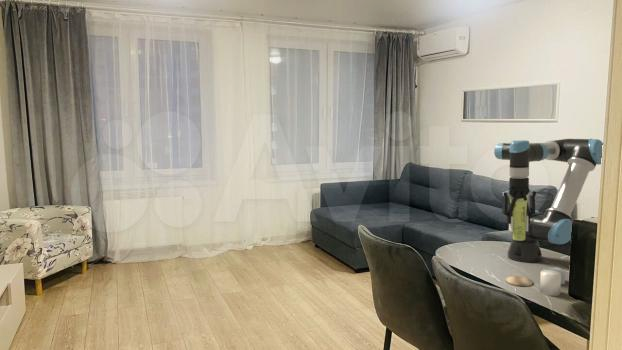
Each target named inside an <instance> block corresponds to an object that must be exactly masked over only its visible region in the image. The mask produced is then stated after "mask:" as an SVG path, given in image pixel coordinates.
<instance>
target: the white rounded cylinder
mask: <svg viewBox="0 0 622 350" xmlns="http://www.w3.org/2000/svg"><path fill="white" fill-rule="evenodd" d="M539 279H540V280H539V281H540V282H539V283H540V285H539V289H540V290H539V292H540V293H541V295H543V296H544V295H545V296H547V297H549V296H550V297H559V296H561V292H562V291H561V289H562V287H561V286H562V284H561V273H560V272H558V271H554V270H543V269H542V270H540V277H539ZM558 295H559V296H558Z"/></svg>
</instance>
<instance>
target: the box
mask: <svg viewBox="0 0 622 350" xmlns="http://www.w3.org/2000/svg"><path fill="white" fill-rule="evenodd" d="M542 270H554V271H558V272H560V273H561V285H565V284H566V282H565V281H566V272H565V271H563V270H562V269H561V268H560V267H543V268H542Z"/></svg>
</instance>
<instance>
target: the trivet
mask: <svg viewBox="0 0 622 350" xmlns="http://www.w3.org/2000/svg"><path fill="white" fill-rule="evenodd" d="M505 283H507V284H509V285H512V286H515V287H530V286H533V280H532V279H530V278H528V277H524V276H517V275H513V276H512V275H511V276H508V277H505Z"/></svg>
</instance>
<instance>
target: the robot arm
mask: <svg viewBox="0 0 622 350" xmlns="http://www.w3.org/2000/svg"><path fill="white" fill-rule="evenodd" d="M603 144H604V143H603V141H602V140H600V139H598V138H597V139H596V138H561V139H558V140H557V139H556V140H555V139H554V140H547V141H544V142H530V141H529V140H523V139H520V140H512V141H510V143H507V142H502V143H497V144H496V145H495V147H494V149H493V150H494V151H493V153H494V157H495V158H496V159H497V160H504V161H509V182H508V184H509V188H508V189H507V190H506V191H501V196H502V208H501V209H502V211H501V213H502V215H504V216H506V224H508V231H509V232H511V241H510V244H509V247H508V249H507V258H508V259H510V260H512V261H517V262H523V263H538V262H540V261H542V259H543V254H542V250H541V248H540V244H539V241H541V242H546V243H550V244H556V245H564V244H567V243H568V242H569V241H570V240H571V239H572V238H571V232H572V222H573V217H572V213H573V210H574V208H575V207H576V203H577V201H578V198H579V197H580V194H581V192H582V190H583V187H584V185H585V182H586V179H587V178H588V176H589V173H590V172H592V171H594V170H595V168H596V167H597V166H598V165H602V164H601V158H602V145H603ZM544 160H547V161H554V162H555V161H557V162H563V163H567V164H568V168H567V169H566V172H565V174H564V177H563V179H562V181H561V183H560V186H559V187H558V190H557V193H556V195H555V197H554V199H553V202H552V204H551V207H549V208H547V209H545V210H544V213H543V214H540V211H539V210H537V209H536V195H537V191H535V190H530V187H529V186H530V178H529V177H530V163H532V162H540V161H544ZM509 195H511V196H512V197H513V198H514V199H512V202H511V204H510V203H509ZM526 195H528V196H529V203H528V202H527V211H526V230H525V240H523V241H517V240H513V233H512V232H513V216H511V215H512V212H513V209H514V206H515V202H516V201H517V199H522V198H523V199H524V201H526V200H527V197H526Z"/></svg>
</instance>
